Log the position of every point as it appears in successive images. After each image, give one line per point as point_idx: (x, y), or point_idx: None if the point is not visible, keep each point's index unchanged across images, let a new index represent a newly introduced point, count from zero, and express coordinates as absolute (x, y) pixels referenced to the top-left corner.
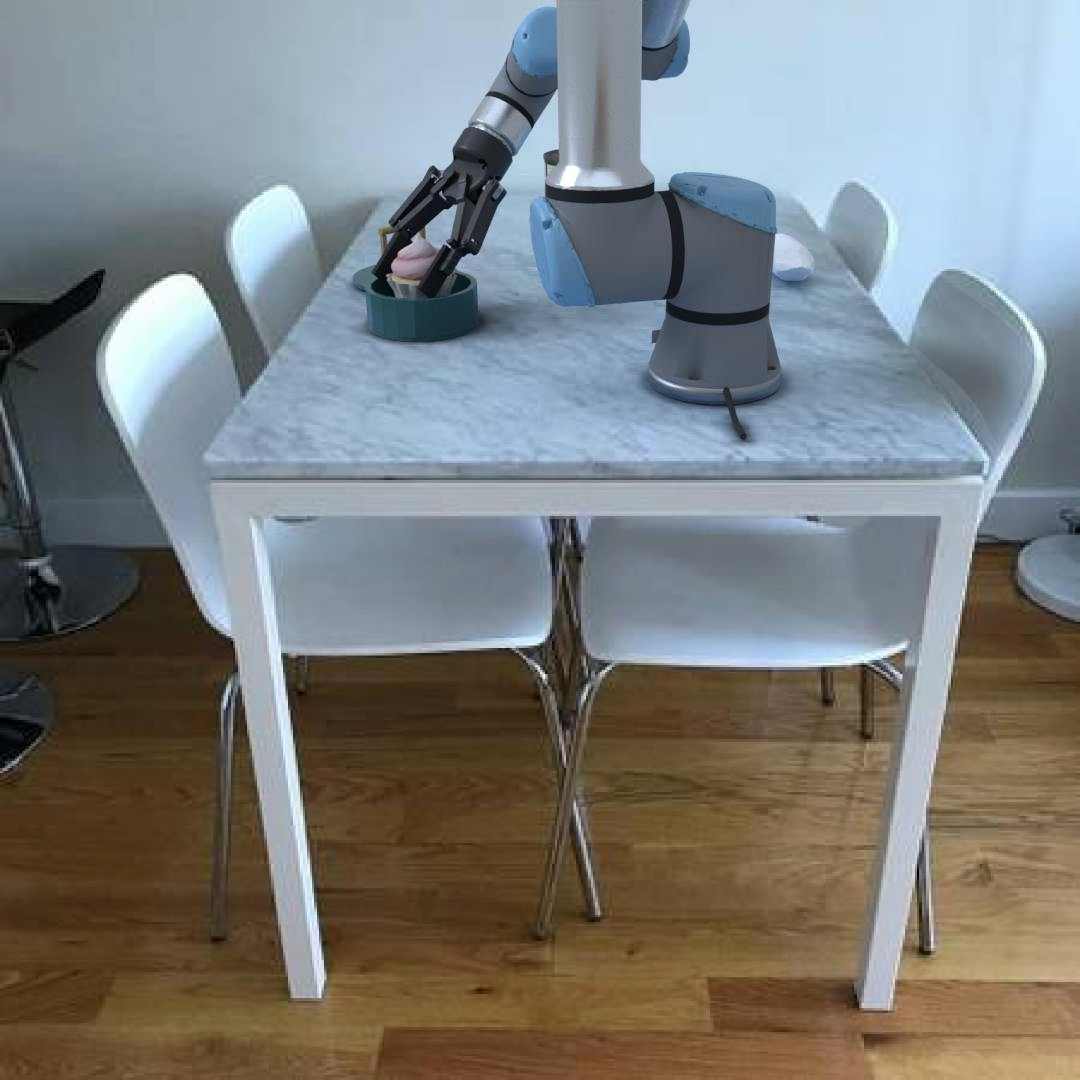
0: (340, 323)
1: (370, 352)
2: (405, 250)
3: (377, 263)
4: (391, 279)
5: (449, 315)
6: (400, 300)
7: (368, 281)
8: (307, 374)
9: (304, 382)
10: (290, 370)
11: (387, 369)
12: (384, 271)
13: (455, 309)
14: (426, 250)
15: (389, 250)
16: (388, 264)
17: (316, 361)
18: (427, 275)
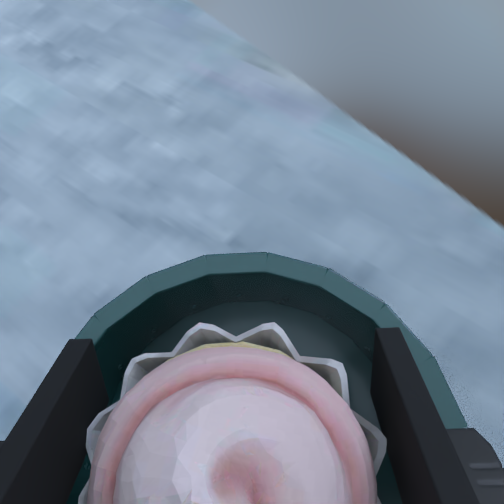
0: (419, 274)
1: (167, 210)
2: (214, 396)
3: (408, 358)
4: (289, 355)
5: None
6: (134, 285)
7: (409, 330)
8: (154, 57)
9: (123, 37)
10: (198, 45)
11: (51, 180)
12: (382, 382)
13: None
14: (119, 486)
15: (410, 424)
16: (389, 407)
17: (206, 101)
18: (47, 380)
